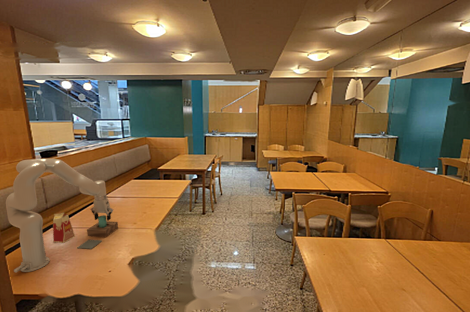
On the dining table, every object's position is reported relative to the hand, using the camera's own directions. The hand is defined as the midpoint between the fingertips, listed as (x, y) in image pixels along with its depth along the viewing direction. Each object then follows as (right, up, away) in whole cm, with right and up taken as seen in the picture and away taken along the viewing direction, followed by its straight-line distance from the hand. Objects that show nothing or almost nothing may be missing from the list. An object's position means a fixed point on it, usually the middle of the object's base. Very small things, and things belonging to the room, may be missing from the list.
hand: (102, 219), depth 163 cm
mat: (+1, -12, -16) cm, 20 cm away
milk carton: (-21, -11, -10) cm, 26 cm away
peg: (0, -10, +1) cm, 10 cm away
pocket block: (0, -10, +1) cm, 10 cm away
